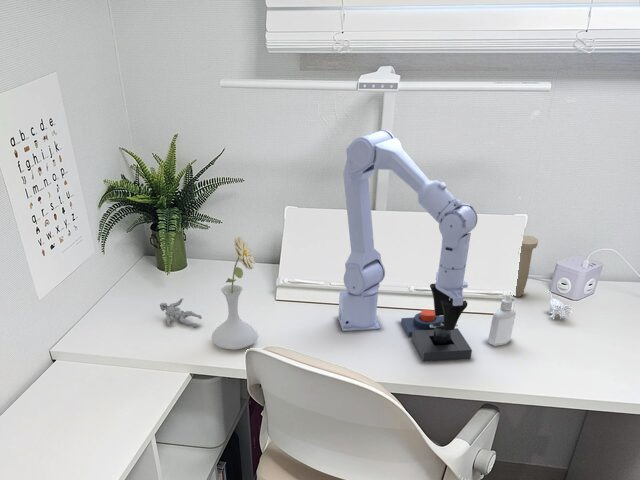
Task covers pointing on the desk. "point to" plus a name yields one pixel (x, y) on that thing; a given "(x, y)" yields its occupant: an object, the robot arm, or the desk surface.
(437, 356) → the square hole block
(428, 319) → the stop button
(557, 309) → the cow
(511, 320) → the eye dropper bottle
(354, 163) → the robot arm
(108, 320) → the desk surface
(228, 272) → the desk surface
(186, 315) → the soldier figure
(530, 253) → the handle
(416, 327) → the switch box
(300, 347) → the desk surface
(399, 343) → the desk surface
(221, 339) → the flower in vase
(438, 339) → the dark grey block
